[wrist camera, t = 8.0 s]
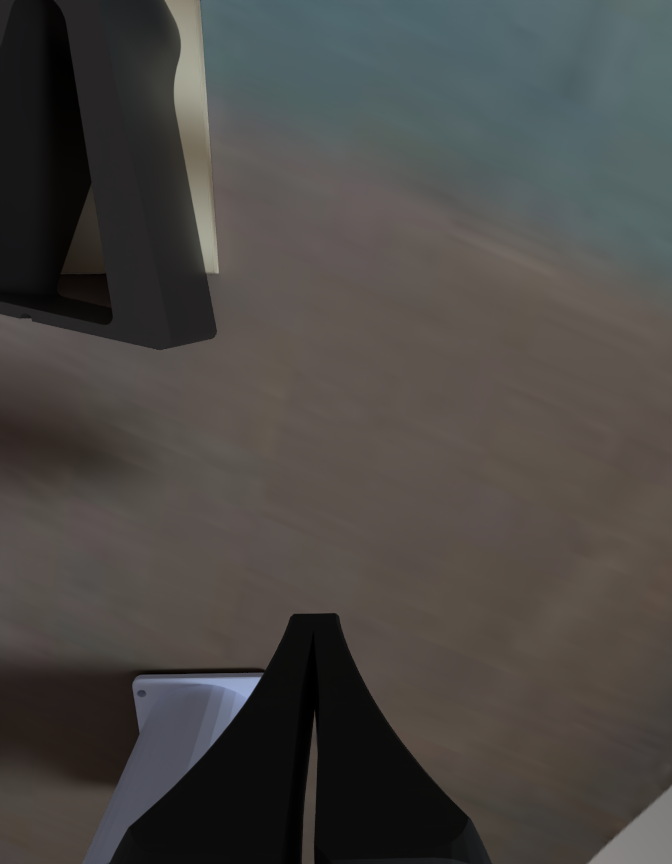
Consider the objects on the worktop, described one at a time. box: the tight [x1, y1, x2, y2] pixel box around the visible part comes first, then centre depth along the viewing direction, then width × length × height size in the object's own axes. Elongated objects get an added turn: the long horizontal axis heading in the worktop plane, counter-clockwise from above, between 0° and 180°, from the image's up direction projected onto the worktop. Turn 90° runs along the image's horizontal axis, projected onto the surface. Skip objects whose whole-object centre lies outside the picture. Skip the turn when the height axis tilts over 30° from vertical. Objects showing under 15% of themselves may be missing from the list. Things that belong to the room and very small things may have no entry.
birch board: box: [61, 0, 219, 274], centre depth 18 cm, size 11×11×1 cm
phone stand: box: [0, 0, 217, 350], centre depth 15 cm, size 9×6×12 cm
